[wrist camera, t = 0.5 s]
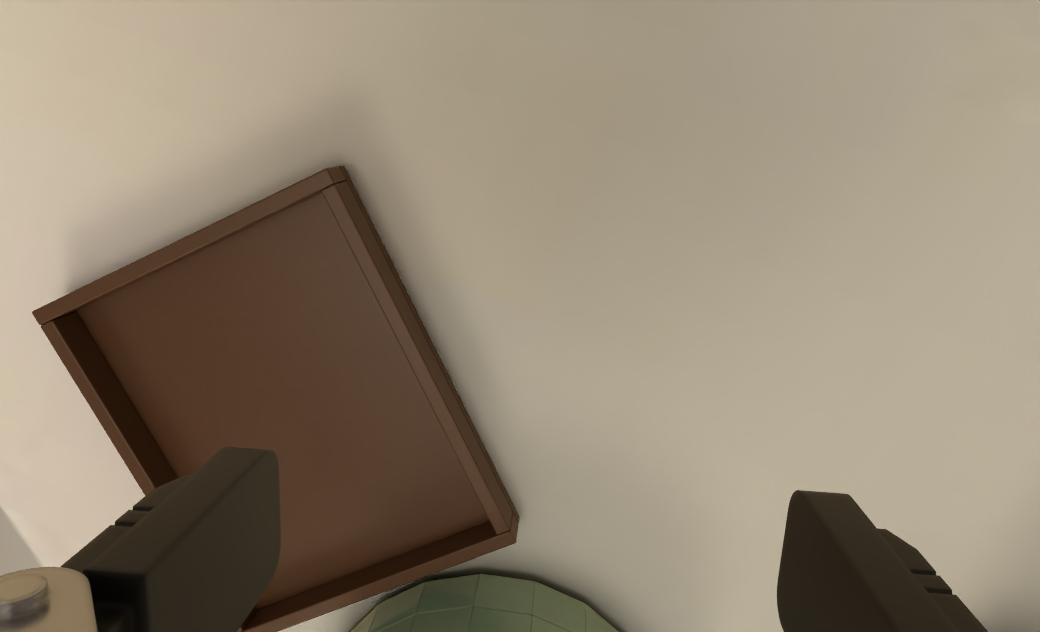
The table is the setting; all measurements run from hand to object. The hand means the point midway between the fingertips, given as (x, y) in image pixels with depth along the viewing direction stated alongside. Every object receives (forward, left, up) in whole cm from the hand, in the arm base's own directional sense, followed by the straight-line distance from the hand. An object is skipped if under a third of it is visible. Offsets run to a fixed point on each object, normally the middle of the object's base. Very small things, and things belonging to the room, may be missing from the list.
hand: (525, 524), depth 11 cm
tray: (+7, -10, -18) cm, 22 cm away
